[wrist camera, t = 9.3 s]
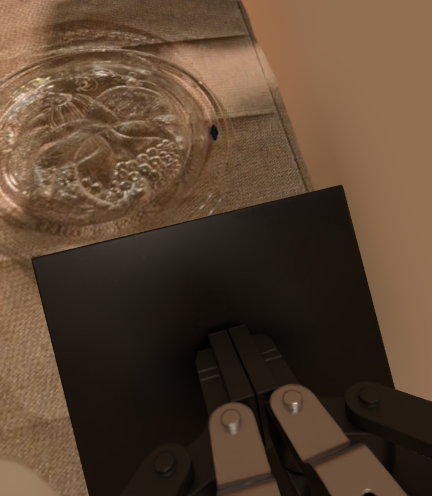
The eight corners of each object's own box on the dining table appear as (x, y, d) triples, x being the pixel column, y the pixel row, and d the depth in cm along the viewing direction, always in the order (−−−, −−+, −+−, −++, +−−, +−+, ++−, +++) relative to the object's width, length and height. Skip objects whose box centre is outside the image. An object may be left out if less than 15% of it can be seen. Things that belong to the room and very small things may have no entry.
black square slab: (37, 258, 14) (29, 258, 13) (334, 188, 15) (343, 183, 15) (127, 621, 14) (124, 643, 13) (417, 510, 15) (430, 523, 15)
